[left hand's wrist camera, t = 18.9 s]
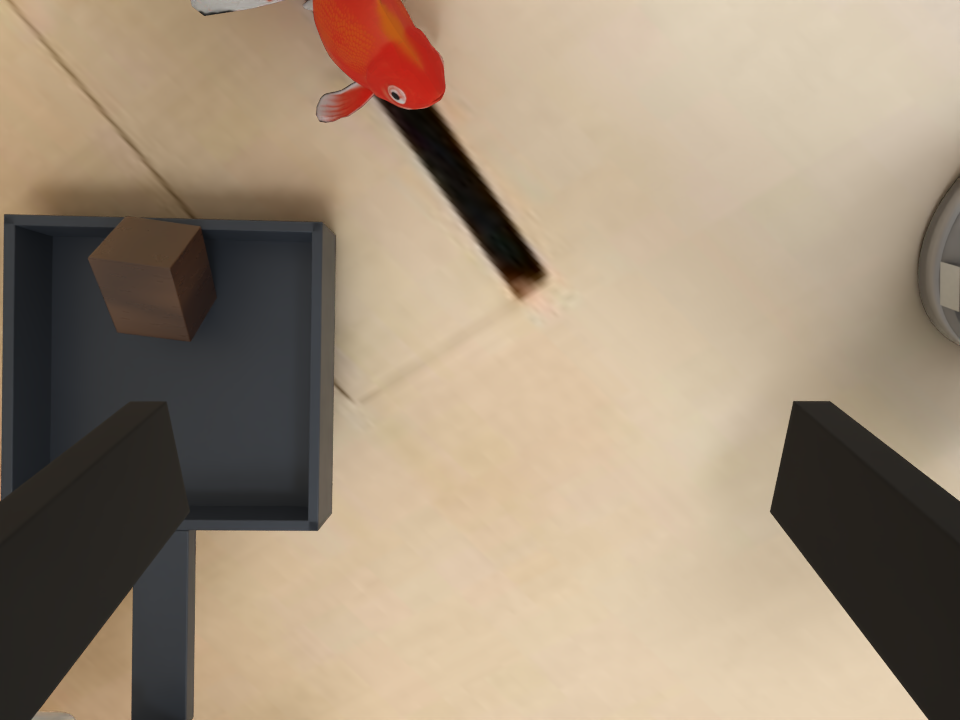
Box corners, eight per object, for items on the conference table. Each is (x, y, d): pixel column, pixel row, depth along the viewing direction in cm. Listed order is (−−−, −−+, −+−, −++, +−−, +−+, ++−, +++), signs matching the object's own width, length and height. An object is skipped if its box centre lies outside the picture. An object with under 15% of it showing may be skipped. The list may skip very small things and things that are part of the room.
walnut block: (217, 297, 35) (201, 225, 32) (190, 342, 33) (169, 269, 29) (149, 288, 35) (125, 215, 32) (116, 333, 32) (86, 257, 29)
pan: (336, 235, 36) (298, 197, 28) (329, 704, 37) (289, 811, 28) (49, 228, 36) (-81, 187, 27) (44, 705, 36) (-87, 815, 27)
